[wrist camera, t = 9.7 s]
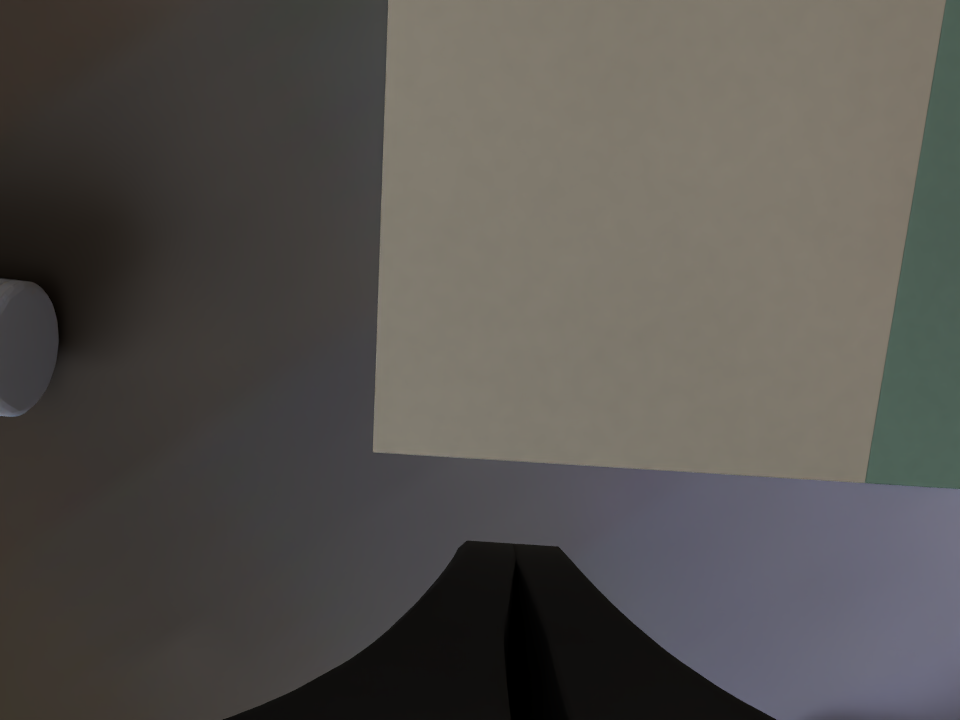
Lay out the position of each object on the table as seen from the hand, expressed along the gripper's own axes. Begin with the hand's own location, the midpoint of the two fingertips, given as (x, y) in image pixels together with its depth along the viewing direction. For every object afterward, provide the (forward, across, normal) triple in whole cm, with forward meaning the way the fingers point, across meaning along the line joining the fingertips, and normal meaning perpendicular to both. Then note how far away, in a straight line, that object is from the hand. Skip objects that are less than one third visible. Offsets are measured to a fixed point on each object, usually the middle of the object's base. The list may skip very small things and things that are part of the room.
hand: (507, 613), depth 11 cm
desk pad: (+9, -9, -6) cm, 14 cm away
